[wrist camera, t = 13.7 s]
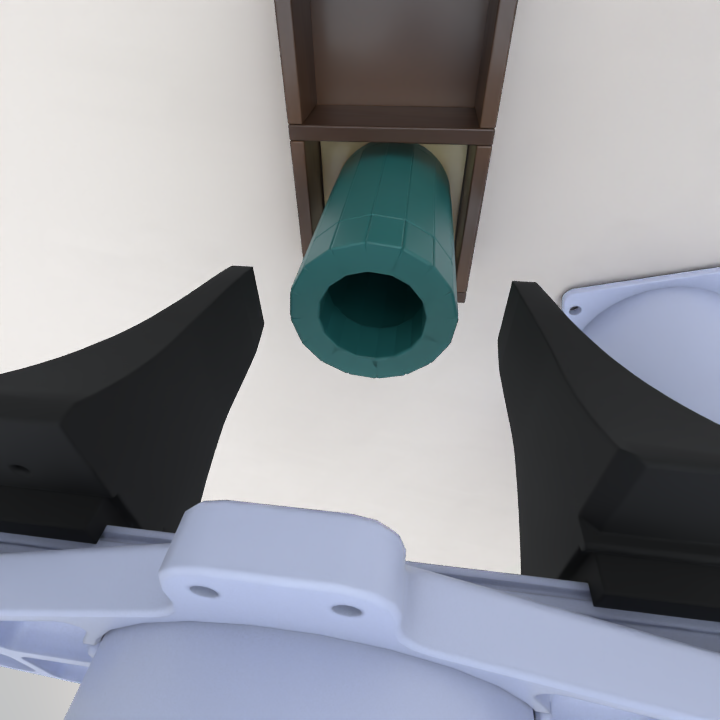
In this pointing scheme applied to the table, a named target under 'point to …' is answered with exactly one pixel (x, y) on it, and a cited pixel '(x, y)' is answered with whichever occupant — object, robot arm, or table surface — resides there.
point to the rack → (394, 94)
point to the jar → (380, 266)
